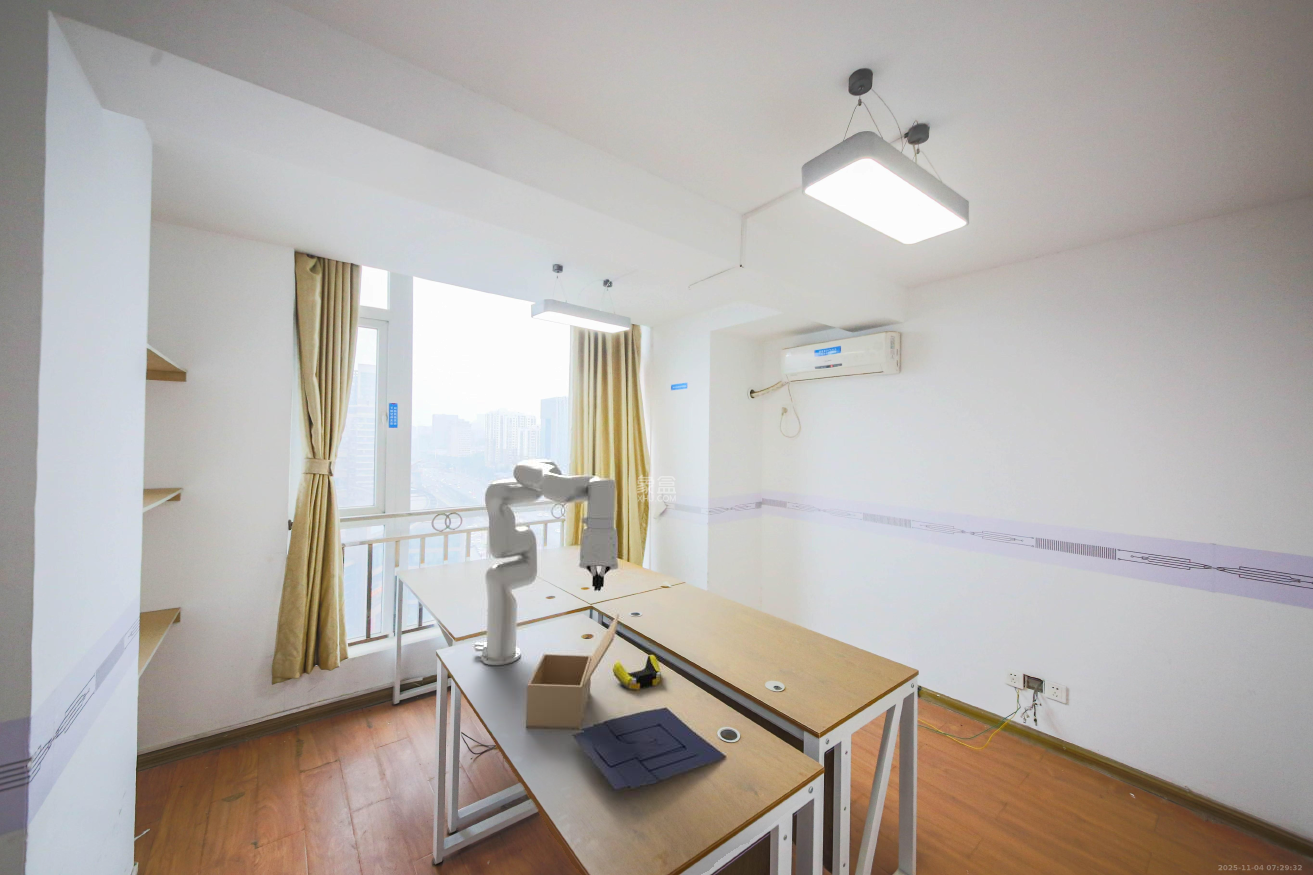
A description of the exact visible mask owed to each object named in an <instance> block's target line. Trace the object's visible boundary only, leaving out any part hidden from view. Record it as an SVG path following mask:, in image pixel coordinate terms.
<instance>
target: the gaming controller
mask: <svg viewBox="0 0 1313 875" xmlns="http://www.w3.org/2000/svg"><path fill="white" fill-rule="evenodd" d="M612 668H613V669H612V672H613V675H614V677H615V678H616V679H617V680H618V682H619V683H620V684H621V685H622V686H624V687H626V689H628V690H636V691H638V690H640V689H645V688H649V687H654V686H656V685H658V684H659V683H660V681H661V678H662V677H661V676H662V673H661V670H660V665H659V661H658V659H657V657H656V656H655V655H654V654H650V655H647V659H646V662H645V667H644V668H643V669H640V670H637V671H632V672H628V671H627V670H626V669H625V668H624V666H623V665H622V663H621V662H619V661H617V662H615V663H614V665H613V667H612Z"/></svg>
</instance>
